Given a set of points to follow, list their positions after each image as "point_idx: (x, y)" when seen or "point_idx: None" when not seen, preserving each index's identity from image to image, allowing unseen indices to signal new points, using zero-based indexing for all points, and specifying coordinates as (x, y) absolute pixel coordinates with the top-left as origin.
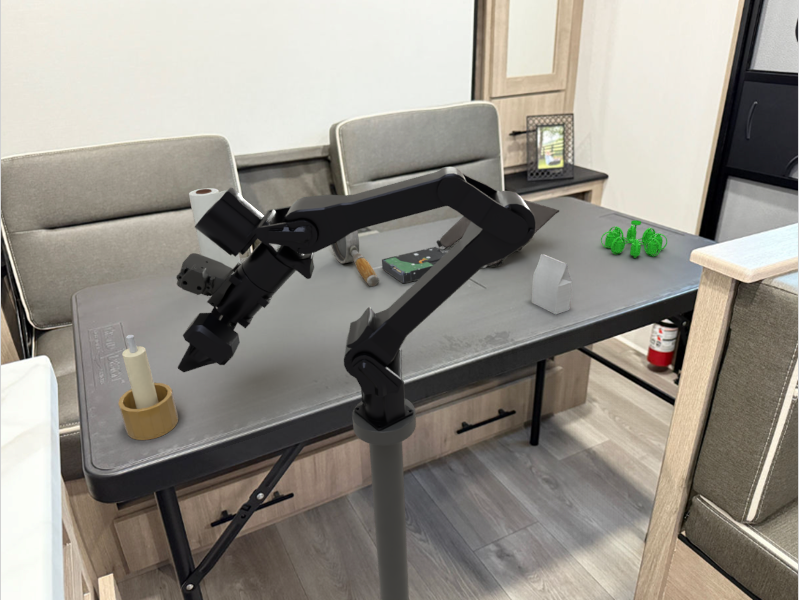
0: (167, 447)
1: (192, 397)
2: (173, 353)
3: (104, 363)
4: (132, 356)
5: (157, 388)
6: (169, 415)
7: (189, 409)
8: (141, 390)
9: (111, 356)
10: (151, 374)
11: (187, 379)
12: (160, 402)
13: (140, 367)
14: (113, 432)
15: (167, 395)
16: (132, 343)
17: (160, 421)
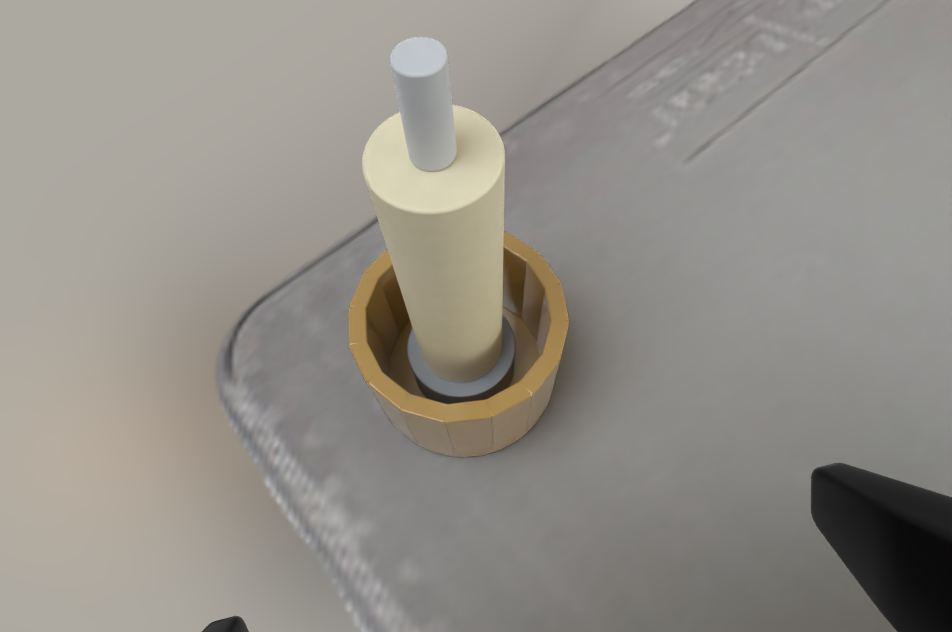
0: (350, 500)
1: (659, 416)
2: (884, 187)
3: (726, 41)
4: (370, 181)
5: (547, 316)
6: (446, 442)
7: (583, 449)
8: (407, 307)
9: (768, 35)
10: (477, 299)
11: (758, 329)
12: (423, 405)
13: (400, 253)
14: None
15: (482, 403)
16: (404, 114)
17: (405, 428)
